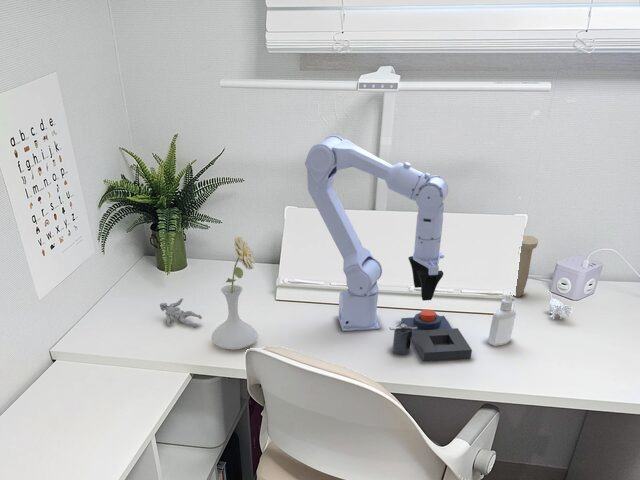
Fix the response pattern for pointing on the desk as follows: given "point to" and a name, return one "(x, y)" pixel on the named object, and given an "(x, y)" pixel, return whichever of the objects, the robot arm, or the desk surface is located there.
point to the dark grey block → (402, 339)
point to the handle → (525, 262)
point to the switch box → (426, 323)
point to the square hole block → (452, 351)
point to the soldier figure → (178, 313)
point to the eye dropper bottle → (502, 323)
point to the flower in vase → (236, 307)
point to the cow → (558, 308)
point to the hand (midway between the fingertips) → (422, 293)
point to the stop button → (427, 315)
